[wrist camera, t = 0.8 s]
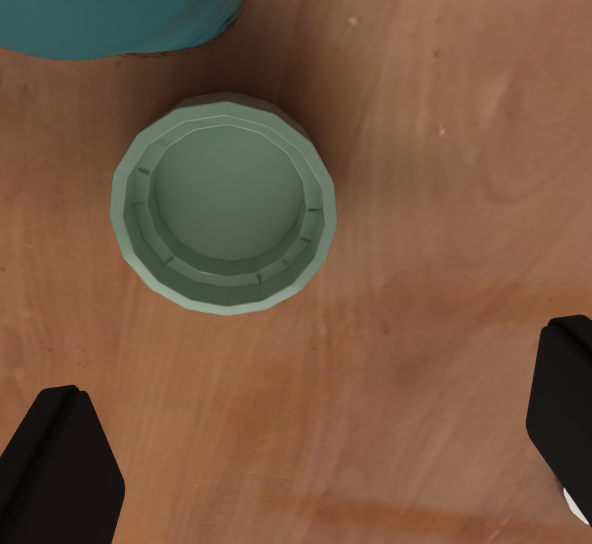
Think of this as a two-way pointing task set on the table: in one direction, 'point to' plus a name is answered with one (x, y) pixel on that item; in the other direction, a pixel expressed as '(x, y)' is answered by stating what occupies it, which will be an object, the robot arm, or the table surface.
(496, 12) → the table surface
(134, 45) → the beverage bottle
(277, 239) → the celadon bowl
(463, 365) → the table surface
